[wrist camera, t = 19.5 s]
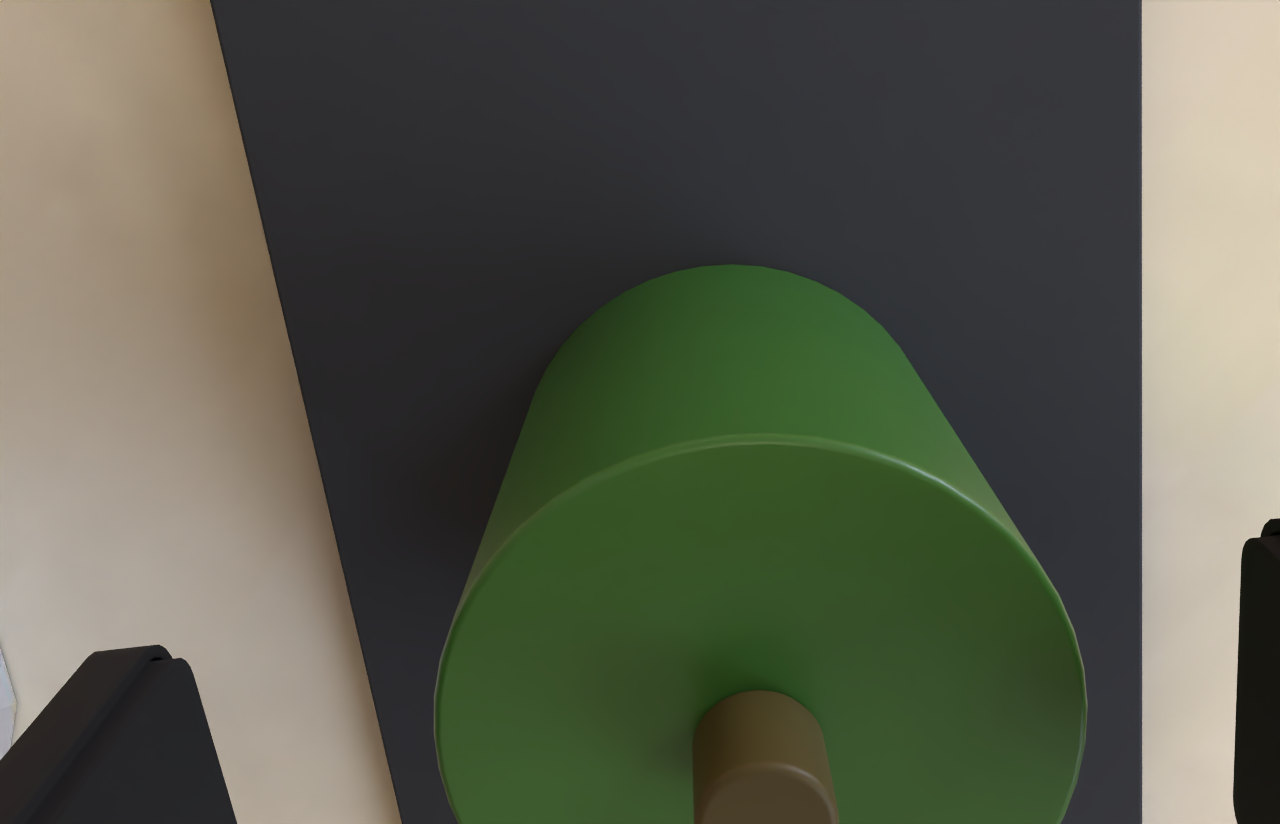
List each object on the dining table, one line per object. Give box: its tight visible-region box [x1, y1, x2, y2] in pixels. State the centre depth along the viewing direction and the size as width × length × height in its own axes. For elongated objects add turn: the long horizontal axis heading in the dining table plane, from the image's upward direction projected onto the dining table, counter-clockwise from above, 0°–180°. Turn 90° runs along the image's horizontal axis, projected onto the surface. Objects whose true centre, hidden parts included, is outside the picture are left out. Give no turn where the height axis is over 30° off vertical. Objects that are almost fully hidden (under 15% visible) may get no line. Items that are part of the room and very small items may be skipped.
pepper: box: [434, 264, 1088, 824], centre depth 14 cm, size 6×6×8 cm
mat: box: [210, 0, 1142, 824], centre depth 18 cm, size 12×20×1 cm, turn 7°
